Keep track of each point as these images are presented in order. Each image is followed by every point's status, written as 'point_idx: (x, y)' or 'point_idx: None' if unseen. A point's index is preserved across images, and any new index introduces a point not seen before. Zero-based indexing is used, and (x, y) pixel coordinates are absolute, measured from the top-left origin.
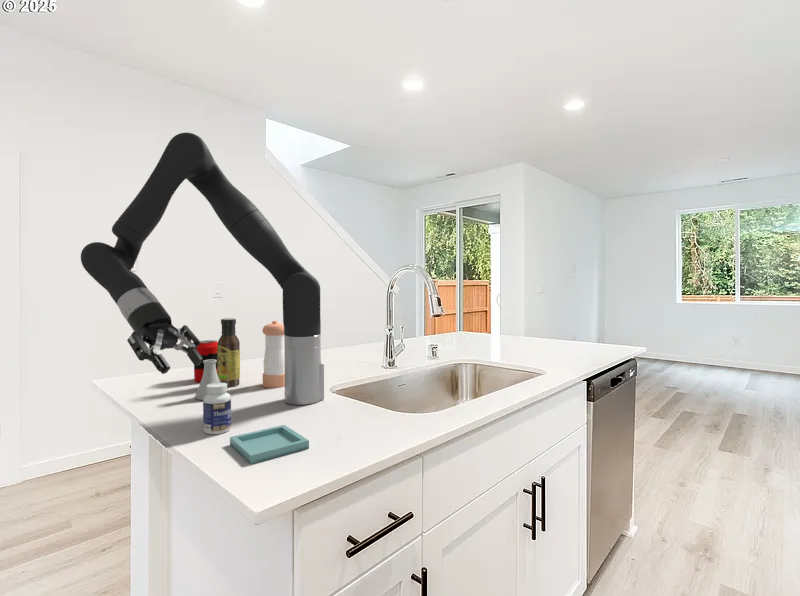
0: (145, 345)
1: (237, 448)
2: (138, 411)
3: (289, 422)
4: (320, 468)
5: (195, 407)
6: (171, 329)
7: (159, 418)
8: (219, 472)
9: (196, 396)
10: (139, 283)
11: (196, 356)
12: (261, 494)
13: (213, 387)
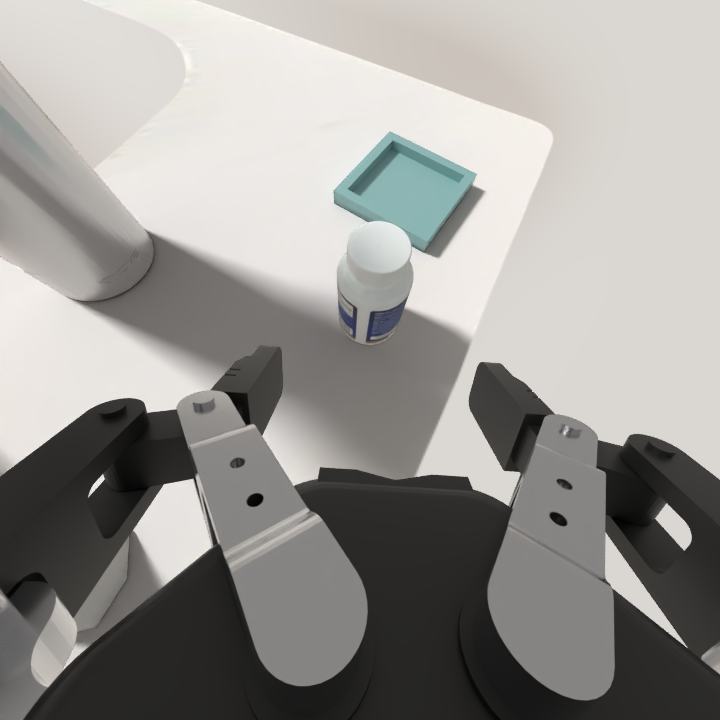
0: (698, 494)
1: (444, 221)
2: None
3: (280, 217)
4: (441, 113)
5: None
6: (293, 615)
7: None
8: (512, 209)
9: (98, 613)
10: None
11: (270, 367)
12: (529, 141)
13: (408, 238)
